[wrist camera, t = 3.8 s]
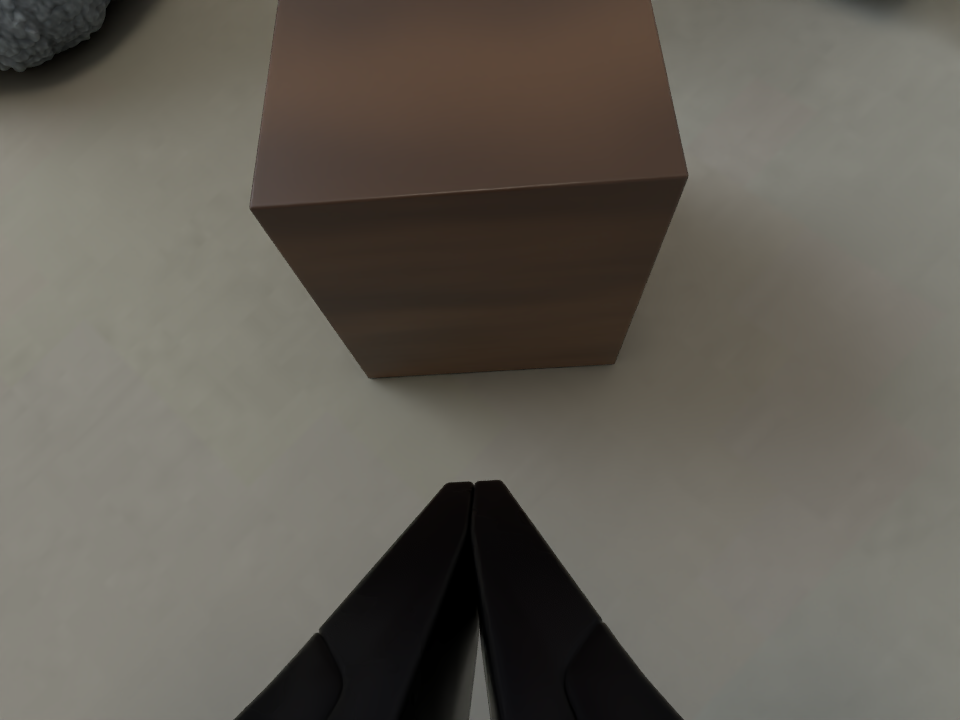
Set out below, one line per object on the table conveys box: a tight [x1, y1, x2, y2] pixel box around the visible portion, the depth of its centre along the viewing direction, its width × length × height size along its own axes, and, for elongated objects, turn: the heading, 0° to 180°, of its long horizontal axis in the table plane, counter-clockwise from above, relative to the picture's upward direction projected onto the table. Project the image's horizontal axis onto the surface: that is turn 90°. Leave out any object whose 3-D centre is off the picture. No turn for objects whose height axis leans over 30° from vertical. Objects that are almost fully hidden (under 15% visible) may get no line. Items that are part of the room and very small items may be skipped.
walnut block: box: [250, 0, 688, 378], centre depth 16 cm, size 8×8×9 cm
